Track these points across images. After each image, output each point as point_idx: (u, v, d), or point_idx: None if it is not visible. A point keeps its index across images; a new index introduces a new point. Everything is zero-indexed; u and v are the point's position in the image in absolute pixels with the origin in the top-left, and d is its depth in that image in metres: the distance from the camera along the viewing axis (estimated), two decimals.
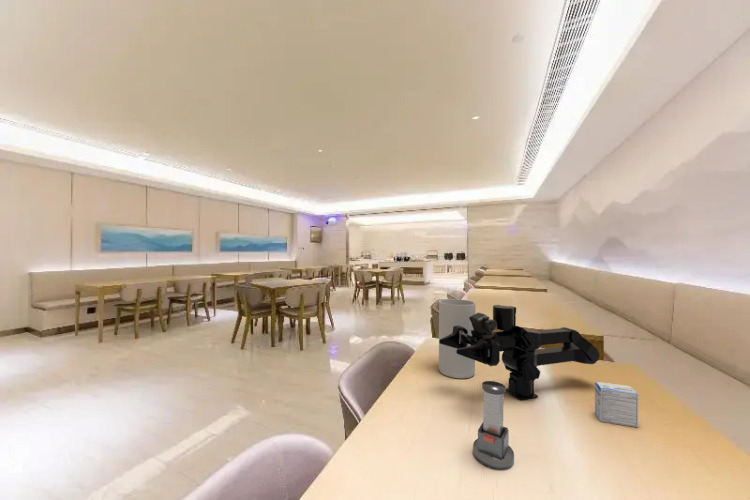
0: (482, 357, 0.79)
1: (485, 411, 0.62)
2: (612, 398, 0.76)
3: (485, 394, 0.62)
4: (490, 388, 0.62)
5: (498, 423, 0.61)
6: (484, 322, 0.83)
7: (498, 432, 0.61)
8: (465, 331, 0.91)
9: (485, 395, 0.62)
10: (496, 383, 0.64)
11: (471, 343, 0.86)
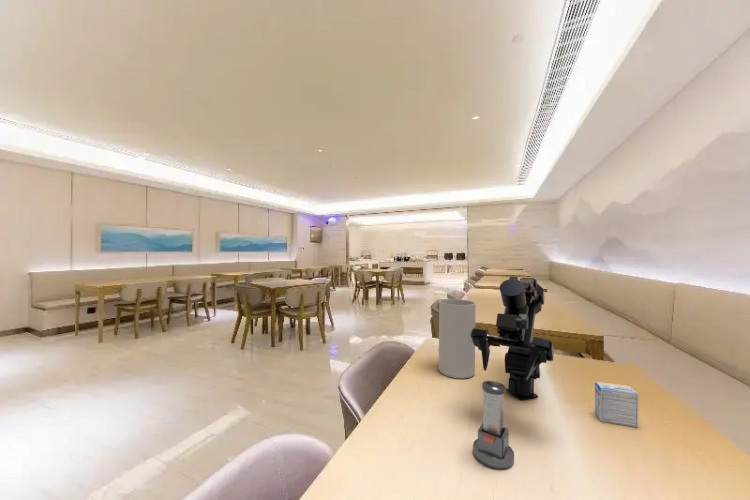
0: (539, 359, 0.72)
1: (485, 411, 0.62)
2: (612, 398, 0.76)
3: (485, 394, 0.62)
4: (490, 388, 0.62)
5: (498, 423, 0.61)
6: (520, 325, 0.71)
7: (498, 432, 0.61)
8: (487, 332, 0.79)
9: (485, 395, 0.62)
10: (496, 383, 0.64)
11: (508, 345, 0.76)
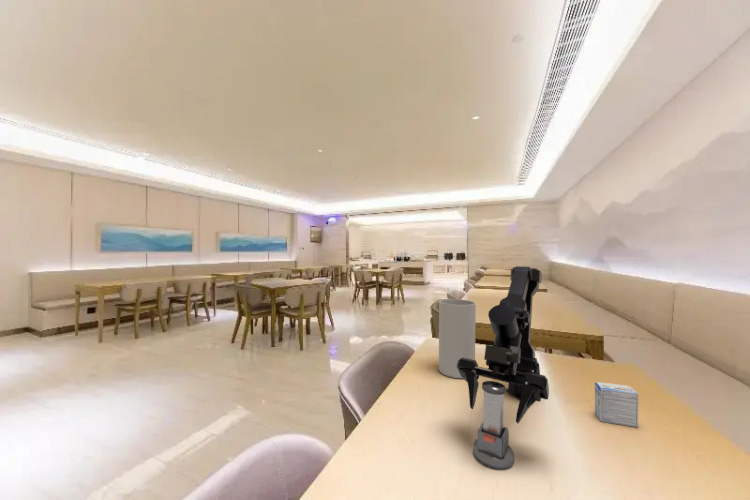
0: (533, 397, 0.64)
1: (485, 411, 0.62)
2: (612, 398, 0.76)
3: (485, 394, 0.62)
4: (490, 388, 0.62)
5: (498, 423, 0.61)
6: (511, 359, 0.63)
7: (498, 432, 0.61)
8: (475, 363, 0.70)
9: (485, 395, 0.62)
10: (496, 383, 0.64)
11: (498, 379, 0.68)
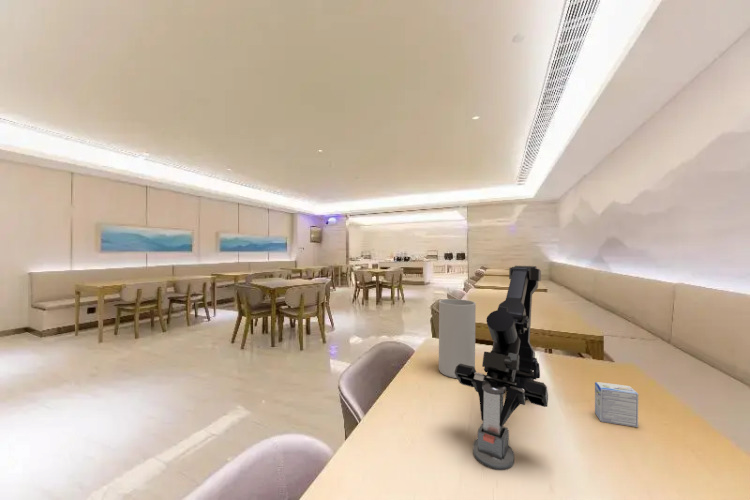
0: (517, 401, 0.64)
1: (485, 411, 0.62)
2: (612, 398, 0.76)
3: (485, 394, 0.62)
4: (490, 388, 0.62)
5: (498, 423, 0.61)
6: (510, 367, 0.62)
7: (498, 432, 0.61)
8: (473, 370, 0.69)
9: (485, 395, 0.62)
10: (496, 383, 0.64)
11: None
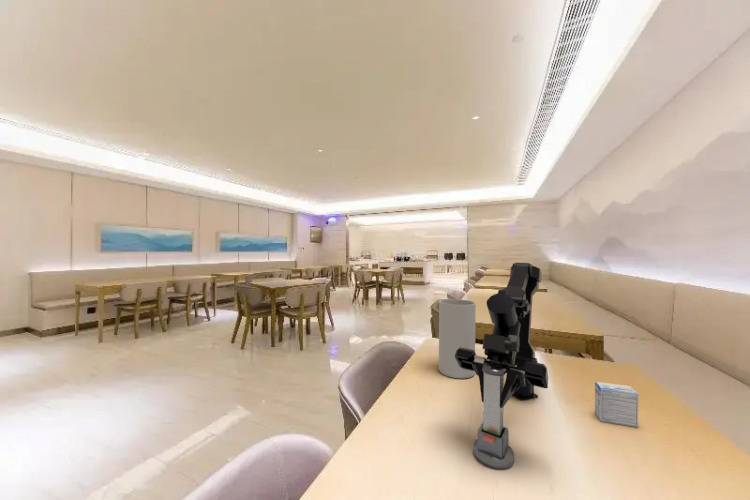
0: (517, 383, 0.64)
1: (485, 393, 0.63)
2: (612, 398, 0.76)
3: (485, 376, 0.63)
4: (490, 370, 0.62)
5: (498, 404, 0.61)
6: (510, 348, 0.62)
7: (498, 413, 0.61)
8: (473, 353, 0.69)
9: (485, 377, 0.63)
10: (496, 365, 0.64)
11: None
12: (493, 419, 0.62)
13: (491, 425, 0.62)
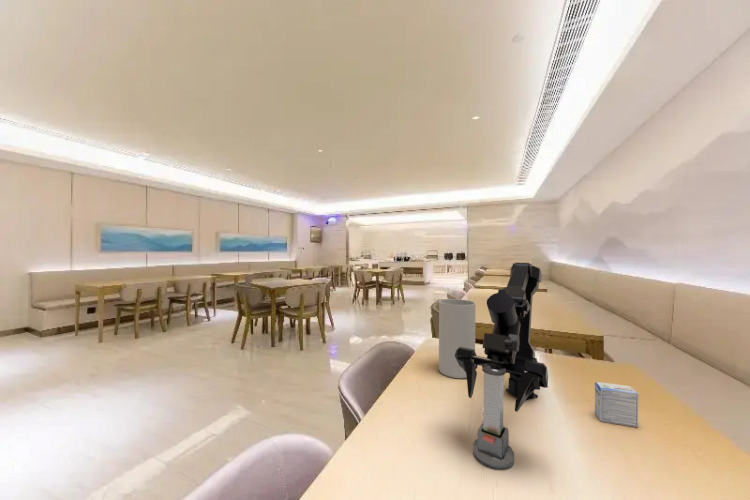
0: (532, 386, 0.63)
1: (485, 392, 0.63)
2: (612, 398, 0.76)
3: (485, 375, 0.63)
4: (490, 369, 0.62)
5: (498, 404, 0.61)
6: (510, 347, 0.62)
7: (498, 413, 0.61)
8: (473, 352, 0.69)
9: (485, 376, 0.63)
10: (496, 365, 0.64)
11: None
12: (493, 418, 0.62)
13: (491, 425, 0.62)
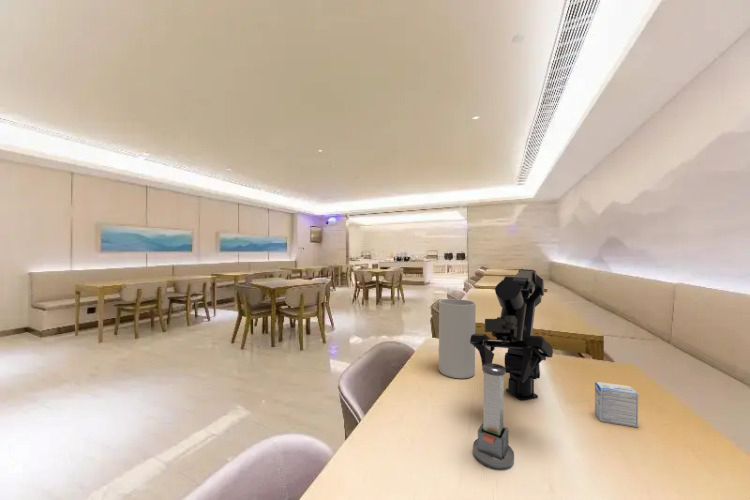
0: (537, 357, 0.69)
1: (485, 392, 0.63)
2: (612, 398, 0.76)
3: (485, 375, 0.63)
4: (490, 369, 0.62)
5: (498, 404, 0.61)
6: (506, 327, 0.70)
7: (498, 413, 0.61)
8: (484, 337, 0.79)
9: (485, 376, 0.63)
10: (496, 365, 0.64)
11: (506, 347, 0.75)
12: (493, 418, 0.62)
13: (491, 425, 0.62)
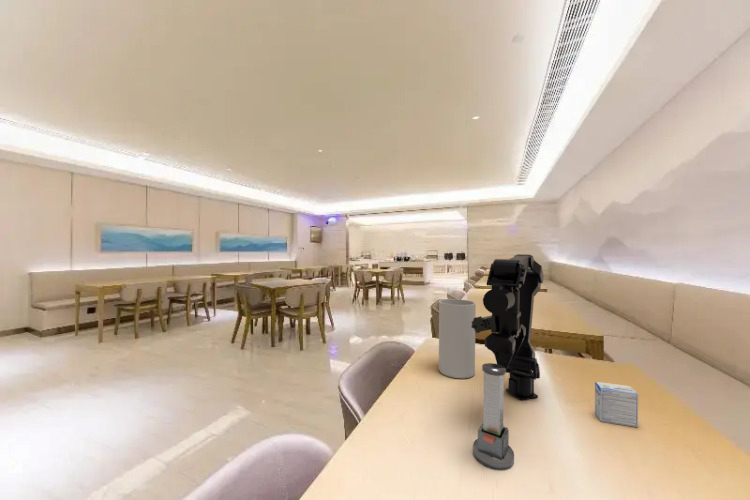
0: None
1: (485, 392, 0.63)
2: (612, 398, 0.76)
3: (485, 375, 0.63)
4: (490, 369, 0.62)
5: (498, 404, 0.61)
6: None
7: (498, 413, 0.61)
8: None
9: (485, 376, 0.63)
10: (496, 365, 0.64)
11: None
12: (493, 418, 0.62)
13: (491, 425, 0.62)
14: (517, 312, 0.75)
